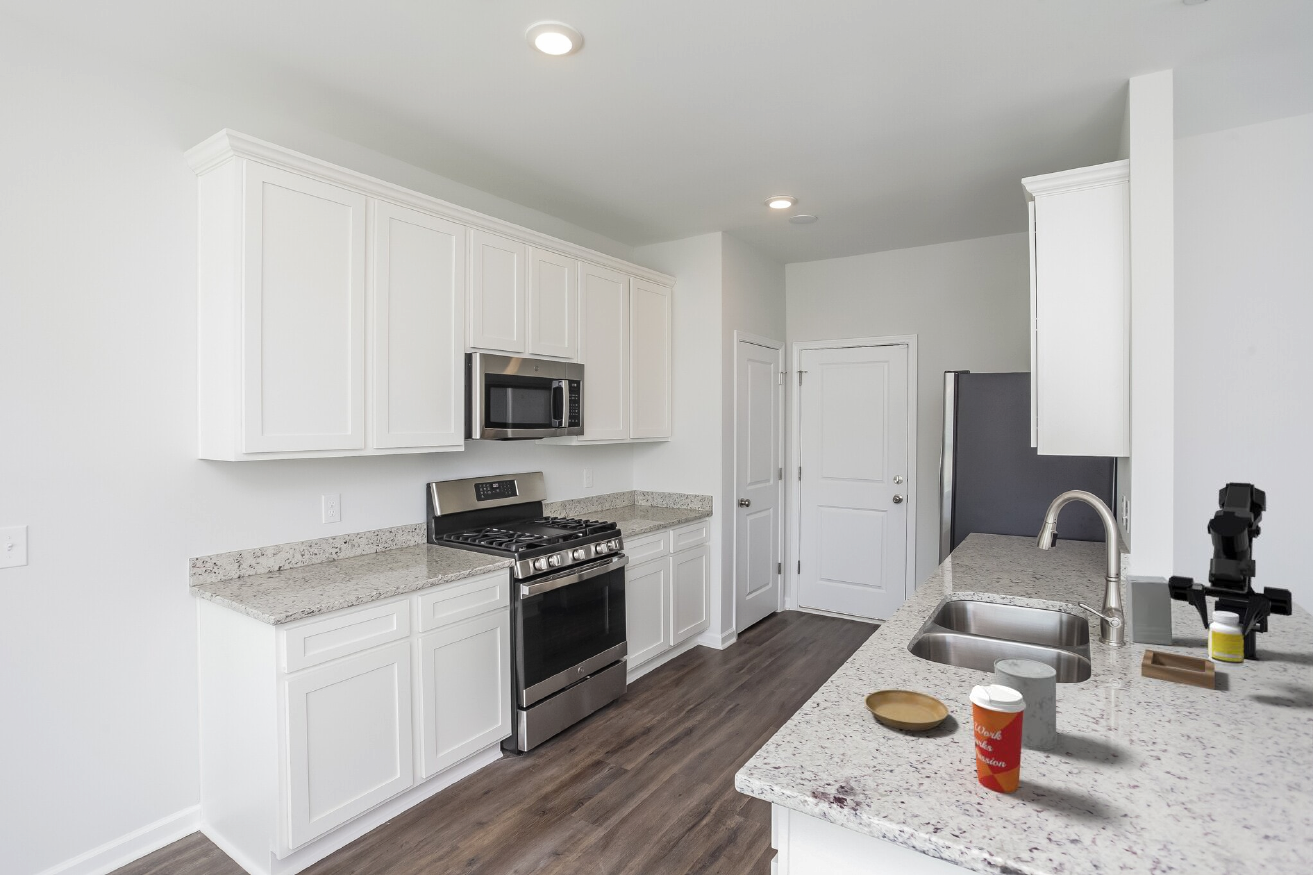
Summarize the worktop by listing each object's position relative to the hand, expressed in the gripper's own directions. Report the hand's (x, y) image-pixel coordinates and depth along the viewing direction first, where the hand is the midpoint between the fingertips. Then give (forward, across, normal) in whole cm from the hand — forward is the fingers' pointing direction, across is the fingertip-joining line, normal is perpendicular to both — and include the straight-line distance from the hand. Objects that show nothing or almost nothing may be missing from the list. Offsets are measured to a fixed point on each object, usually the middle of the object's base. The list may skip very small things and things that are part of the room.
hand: (1224, 631), depth 129 cm
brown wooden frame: (+3, -8, +16) cm, 18 cm away
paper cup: (+53, -21, -36) cm, 68 cm away
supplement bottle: (+4, 0, +6) cm, 7 cm away
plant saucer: (+45, -41, -27) cm, 67 cm away
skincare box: (-12, -17, +32) cm, 38 cm away
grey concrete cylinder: (+40, -23, -22) cm, 51 cm away
